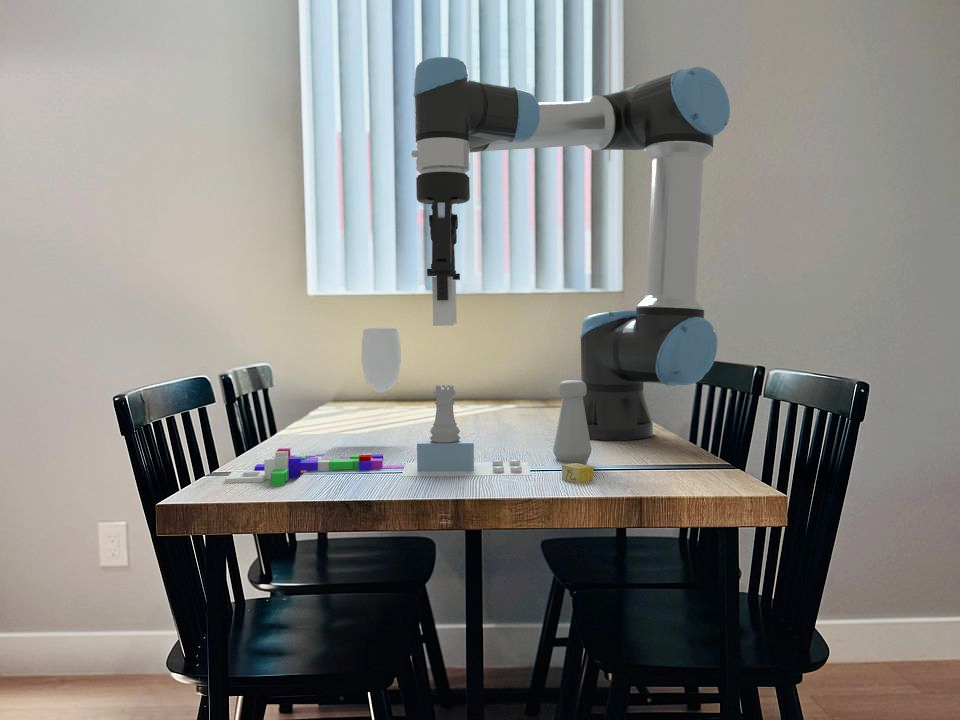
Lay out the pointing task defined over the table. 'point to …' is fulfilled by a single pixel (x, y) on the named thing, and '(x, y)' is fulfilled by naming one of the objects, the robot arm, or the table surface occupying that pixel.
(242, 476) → the building block set
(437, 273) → the robot arm
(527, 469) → the build plate
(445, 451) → the blue brick
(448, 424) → the rook chess piece
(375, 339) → the cup
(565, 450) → the salt shaker
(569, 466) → the alphabet block
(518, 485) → the table surface
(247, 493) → the table surface
